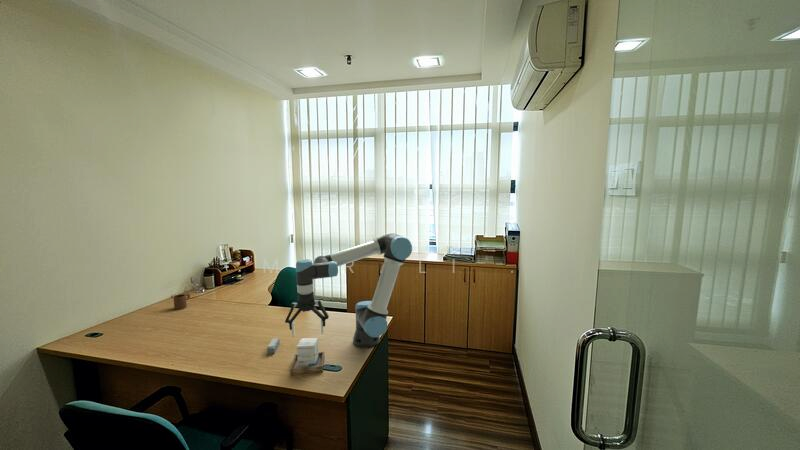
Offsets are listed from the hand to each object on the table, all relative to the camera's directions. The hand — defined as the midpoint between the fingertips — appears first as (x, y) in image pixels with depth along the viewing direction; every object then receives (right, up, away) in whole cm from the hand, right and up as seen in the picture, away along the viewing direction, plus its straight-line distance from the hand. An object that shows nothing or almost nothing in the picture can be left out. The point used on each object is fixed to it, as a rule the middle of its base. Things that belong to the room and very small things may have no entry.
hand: (308, 334), depth 153 cm
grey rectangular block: (-24, -15, +18) cm, 34 cm away
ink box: (0, -16, +2) cm, 16 cm away
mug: (-117, -8, +81) cm, 143 cm away
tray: (0, -16, +2) cm, 16 cm away
